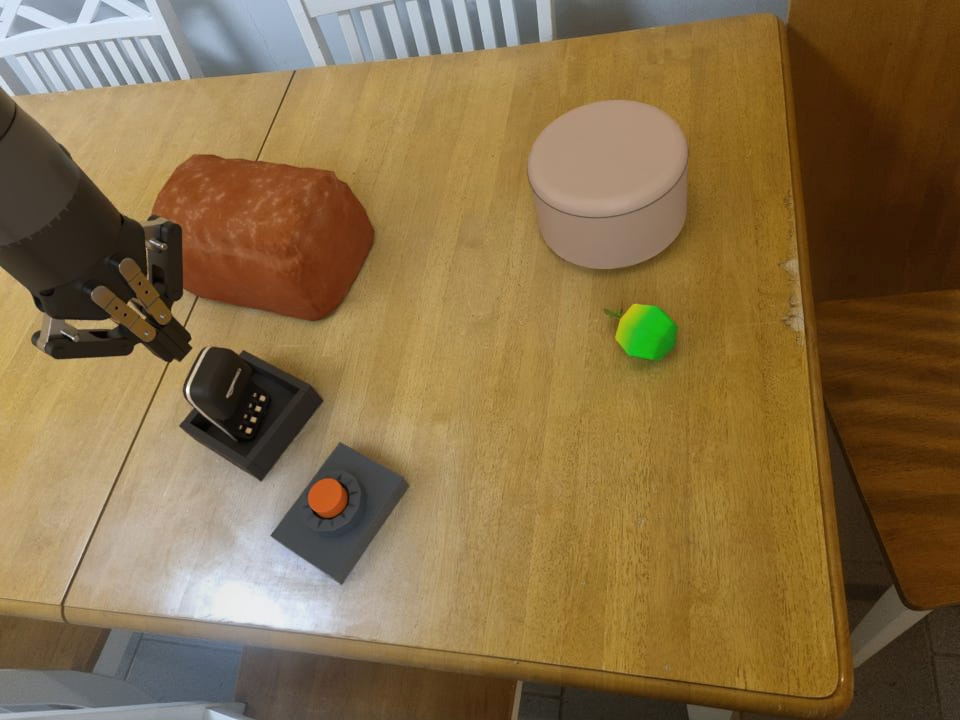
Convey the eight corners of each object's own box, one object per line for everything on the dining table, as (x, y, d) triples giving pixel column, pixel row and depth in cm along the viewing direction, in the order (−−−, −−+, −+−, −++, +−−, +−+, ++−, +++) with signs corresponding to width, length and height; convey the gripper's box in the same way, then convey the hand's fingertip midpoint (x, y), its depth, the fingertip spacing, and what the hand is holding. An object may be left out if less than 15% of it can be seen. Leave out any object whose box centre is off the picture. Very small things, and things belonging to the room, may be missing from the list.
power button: (333, 524, 73) (326, 518, 72) (307, 508, 75) (300, 501, 73) (355, 494, 74) (348, 487, 73) (329, 479, 76) (322, 472, 74)
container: (689, 274, 84) (691, 201, 74) (534, 280, 89) (517, 213, 79) (685, 162, 93) (686, 86, 84) (545, 174, 98) (531, 102, 88)
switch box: (341, 585, 73) (326, 573, 70) (279, 542, 77) (261, 529, 74) (409, 485, 77) (397, 469, 74) (347, 450, 82) (333, 434, 78)
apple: (676, 319, 72) (599, 283, 77) (650, 376, 74) (577, 338, 79) (699, 317, 78) (626, 284, 83) (674, 370, 80) (605, 334, 85)
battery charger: (258, 447, 84) (206, 398, 74) (230, 443, 85) (175, 394, 75) (281, 394, 87) (233, 341, 78) (253, 391, 88) (203, 338, 79)
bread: (329, 329, 92) (276, 252, 79) (181, 297, 101) (113, 223, 89) (385, 227, 99) (345, 143, 87) (243, 206, 108) (188, 127, 96)
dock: (261, 481, 82) (245, 468, 79) (195, 439, 87) (178, 426, 84) (323, 400, 86) (311, 385, 83) (257, 365, 91) (243, 349, 88)
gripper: (64, 110, 48) (204, 276, 62) (-101, 256, 43) (92, 399, 57) (134, 136, 44) (265, 305, 59) (-37, 297, 40) (151, 438, 54)
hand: (179, 352), depth 58 cm, fingers closed
